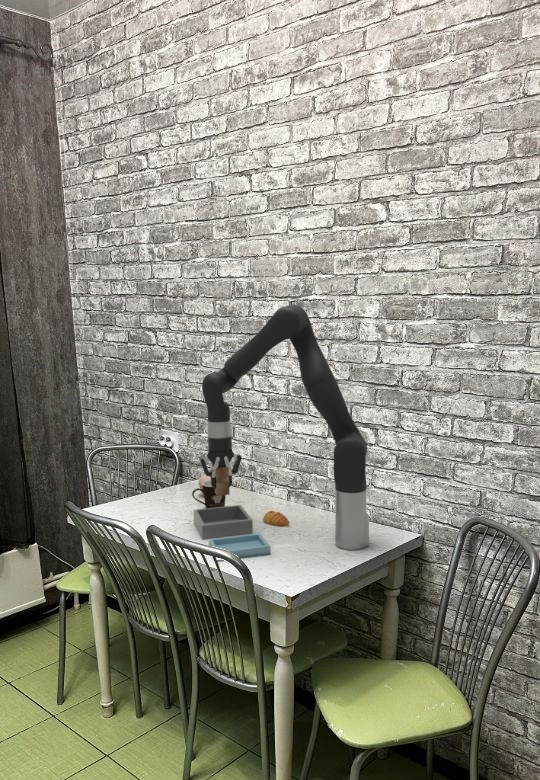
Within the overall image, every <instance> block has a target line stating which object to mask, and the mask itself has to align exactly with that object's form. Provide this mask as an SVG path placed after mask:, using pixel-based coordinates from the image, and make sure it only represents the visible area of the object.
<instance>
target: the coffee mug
mask: <svg viewBox="0 0 540 780" xmlns="http://www.w3.org/2000/svg"><path fill="white" fill-rule="evenodd" d="M202 487H203V489H200V487H199V488H195V489H194V490H193V491H192V493H191V496H192V498H193V499H194V500H195V501H197V502H198V503H200V504H203V505H204V506H205V509H206V508H215V507H224V506H226V496H227V495H222V496H217V495H216V494H215V489H214V488H213V487H212V485H211V480H209V481H205V482H203V483H202ZM196 491H200V492H201V493H202V494H203V499H204V502H203V501H201V500H200V499H198V498H197V497H196V496H195V493H196Z"/></svg>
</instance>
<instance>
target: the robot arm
mask: <svg viewBox="0 0 540 780" xmlns="http://www.w3.org/2000/svg"><path fill="white" fill-rule="evenodd" d="M287 339H289V340H290V342H291V344H292V346H293V348H294V350H295V352H296V355H297V356H296V357H297V358H298V364H299V366H298V367H299V371H300V377H301V378H300V379H301V381H302V384H303V386H304V388H305V391H306V393H307V396H308V397H309V399H310V401H311V403H312V405H313V407H315V409H316V410H317V412H318V413H319V415H320V416H321V417H322V419H324V421H325V422H326V423H327V426H328V427H329V430H330V432H331V434H332V435H331V436H332V438H333V440H334V443H335V446H334V449H333V479H334V487H335V488H334V492H335V493H334V497H335V499H334V500H335V501H334V502H335V509H334V512H335V516H334V517H335V518H334V519H335V520H334V521H335V522H334V524H335V525H334V526H335V527H334V529H335V530H334V531H335V532H334V533H335V535H334V539H335V545H336V547H338V548H340V549H343V550H349V551H355V550H356V551H357V550H362V549H364V548H365V547H369V546H370V515H369V514H368V512H367V478H366V476H367V475H366V466H367V465H366V458H367V453H368V444H367V442H366V440H365V438H364V437H363V435H362V434H361V432H360V430H359V429H358V427H357V424H355V422H354V420H353V418H352V416H351V414H350V412H349V409H348V406H347V403H346V401H345V399H344V395H343V393H342V391H341V388H340V387H339V384H338V382H337V379H336V377H335V374H334V373H333V371H332V370H331V367H330V366H329V363H328V361H327V359H326V356H325V355H324V353H323V351H322V348H321V347H320V345H319V343H318V341H317V337H316V335H315V332H314V329H313V325H312V323H311V320H310V318H309V315H308V313H307V311H306V310H305V309H304V308H303V307H301V306H300V305H297V304H289V305H286V306H281V307H279V308H278V309H277V310H276V311H275V312H274V313H273V314H272V316H271V317H270V318H269V319H268V320H267V322H266V323H265V324H264V325H263V327H262V328H261V329H260V330H259V331H258V332H257V333H256V334H255V335H254V336H253V337H252V338H251V339H250V340H249V341H247V343H245V344H244V345H243V346H242V347H240V348H239V349H238V350H237V351H236V352H234V353H233V354H232V355H231V356H230V357H228V359H227V360H226V361H225V362H224V366H223V367H222V368H221V369H219V370H218V371H215V372H211V373H208V374H206V375H205V376H204V378H203V380H202V385H201V389H202V390H201V391H202V394H203V397H204V402H205V405H206V408H207V433H206V434H207V443H208V444H207V446H208V447H207V448H208V452H207V455H206V456H203V457H202V456H201V457H199V459H198V460H199V462H200V464H201V467H202V470H203V473H204V472H205V474H206V476H210V477H211V485H212V487H213V488H214V489H216V477H215V476H216V468H218V467H220V466H226V467H228V470H229V488H231V486H232V485H233V475H234V474H237V473H238V471H239V469H240V465H241V461H242V457H243V456H242V455H241V454H240V453H234V451H233V441H232V440H233V437H232V424H231V411H230V410H231V409H230V404H229V403H228V402H226V401H225V400H224V396H223V394H226V393H227V392H229V391H230V390H232V389H233V388H234V387H235V386H236V385H237V384H238V382H239V381H240V380H241V379H242V378H243V377H244V376H245V375H246V374H248V373H249V372H250V371H252V369H253V368H255V367H256V366H257V365H258V364H259V363H260V362H261V360H263V358H264V357H265V356H266V355H267V354H268V352H270V351H271V350H272V349H273V348H274V347H276V346H277V345H279V344H282V342H284V341H287ZM232 459H233V460H234V463H233V466H232V468H231V464H230V462H231V461H232ZM208 461H210V462H211V468H210V469H211V472H210V470H209V469H208V465H207V464H208Z"/></svg>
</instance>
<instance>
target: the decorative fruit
mask: <svg viewBox="0 0 540 780" xmlns="http://www.w3.org/2000/svg"><path fill="white" fill-rule="evenodd" d="M209 472H211V470H209ZM209 480H211V477H210V476H206V474H205V472H204V471H203V474H202V475H201V476H200V477H199V479H198V487H199V489H203V487H202V483H203V482H205V481H209Z"/></svg>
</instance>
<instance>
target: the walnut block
mask: <svg viewBox="0 0 540 780" xmlns="http://www.w3.org/2000/svg"><path fill="white" fill-rule="evenodd" d="M215 477H216V489H215V494H216V495H217V496H222V495H226V496H228V495H230V487H229V470H228V467H226V466H220V467H218V468H216V476H215Z"/></svg>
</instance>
